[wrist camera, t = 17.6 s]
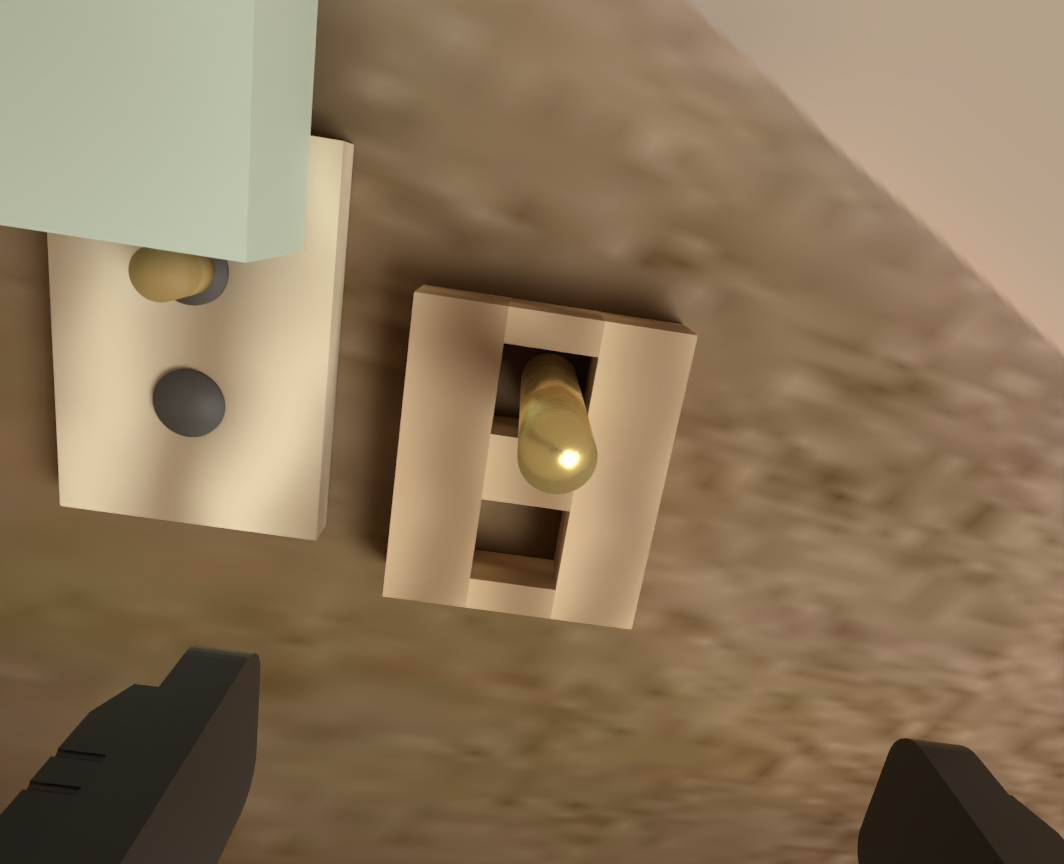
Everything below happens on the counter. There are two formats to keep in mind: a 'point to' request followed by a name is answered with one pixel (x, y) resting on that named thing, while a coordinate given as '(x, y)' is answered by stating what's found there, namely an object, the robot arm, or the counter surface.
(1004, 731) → the counter surface
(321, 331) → the board
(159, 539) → the counter surface
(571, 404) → the peg
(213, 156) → the cover
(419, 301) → the socket board
